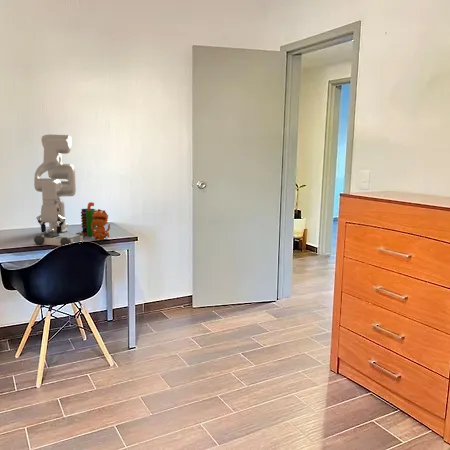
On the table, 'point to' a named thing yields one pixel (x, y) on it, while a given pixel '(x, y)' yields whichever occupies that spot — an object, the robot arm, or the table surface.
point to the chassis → (59, 239)
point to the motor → (87, 220)
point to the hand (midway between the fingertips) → (51, 232)
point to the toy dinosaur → (100, 224)
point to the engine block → (50, 233)
